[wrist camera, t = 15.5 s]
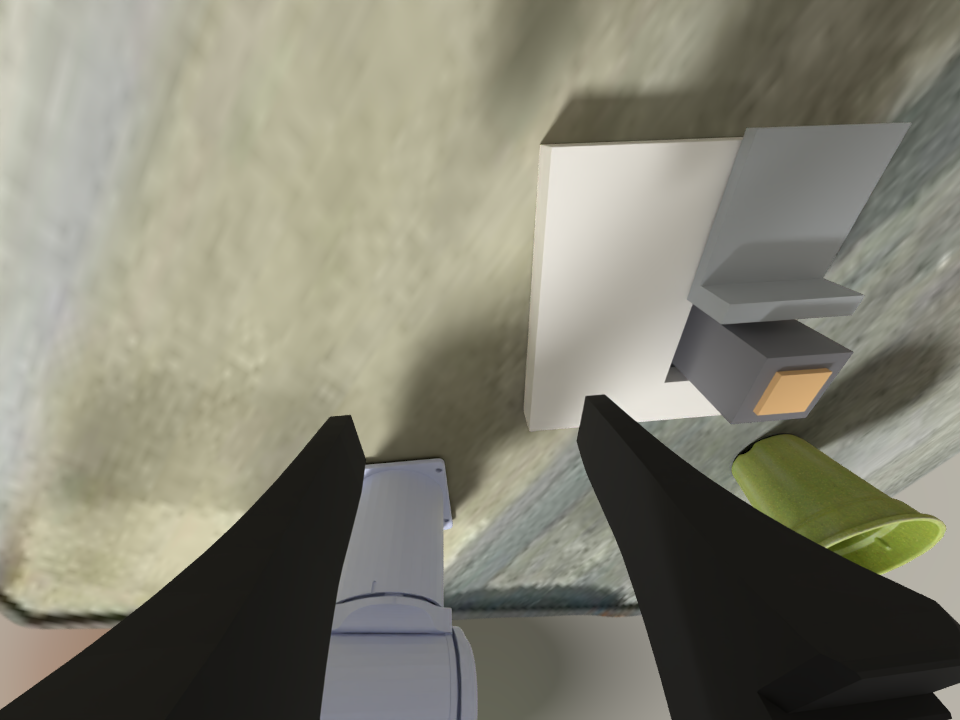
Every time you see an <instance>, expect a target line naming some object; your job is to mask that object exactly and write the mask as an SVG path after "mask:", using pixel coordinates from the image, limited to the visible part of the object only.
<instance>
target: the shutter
mask: <svg viewBox="0 0 960 720" xmlns="http://www.w3.org/2000/svg"><path fill="white" fill-rule="evenodd" d="M911 124H912V122H894V123H867V124H840V125H812V126H785V127H758V128H746V131H745V134H744V136H743V139H742V142H741V145H740V148H739V151H738V154H737V157H736V159H735V162H734V165H733V168H732V171H731V174H730V177H729V180H728V182H727V185H726V188H725V191H724V194H723V197H722V200H721V203H720V205H719V208H718V211H717V214H716V217H715V220H714V223H713V226H712V228H711V231H710V234H709V237H708V240H707V243H706V246H705V249H704V251H703V254H702V257H701V260H700V263H699V266H698V269H697V272H696V274H695V277H694V280H693V283H692V286H691V289H690V292H689V295H688V297H687V300H688V301H690V302H691V303H692V304H694V305H695V306H697V307H698V308H699V309H701V310H702V311H703V312H705V313H706V314H708V315H709V316H710V317H712V318H713V319H715V320H716V321H717V322H719V323H720V324H735V323H749V322H763V321H777V320H791V319H805V318H819V317H833V316H848V315H852V314H853V313H854V312H855V310H856V309H857V307H858V306H859V304H860V303H861V301H862V300H863V298H864V297H865V295H863V294H861V293H858V292H856V291H853V290H851V289H849V288H846V287H844V286H841V285H839V284H836V283H834V282H831V281H829V280H826V279H824V278H823V277H824V275H825V273H826V272H827V270H828V268H829V266H830V265H831V263H832V261H833V259H834V258H835V256H836V254H837V252H838V251H839V249H840V247H841V245H842V244H843V242H844V240H845V239H846V237H847V235H848V233H849V232H850V230H851V228H852V226H853V225H854V223H855V221H856V219H857V218H858V216H859V214H860V212H861V211H862V209H863V207H864V205H865V204H866V202H867V200H868V198H869V197H870V195H871V193H872V191H873V190H874V188H875V186H876V185H877V183H878V181H879V179H880V178H881V176H882V174H883V172H884V171H885V169H886V167H887V165H888V164H889V162H890V160H891V158H892V157H893V155H894V153H895V151H896V150H897V148H898V146H899V144H900V143H901V141H902V139H903V137H904V136H905V134H906V132H907V131H908V129H909V127H910V125H911Z"/></svg>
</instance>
